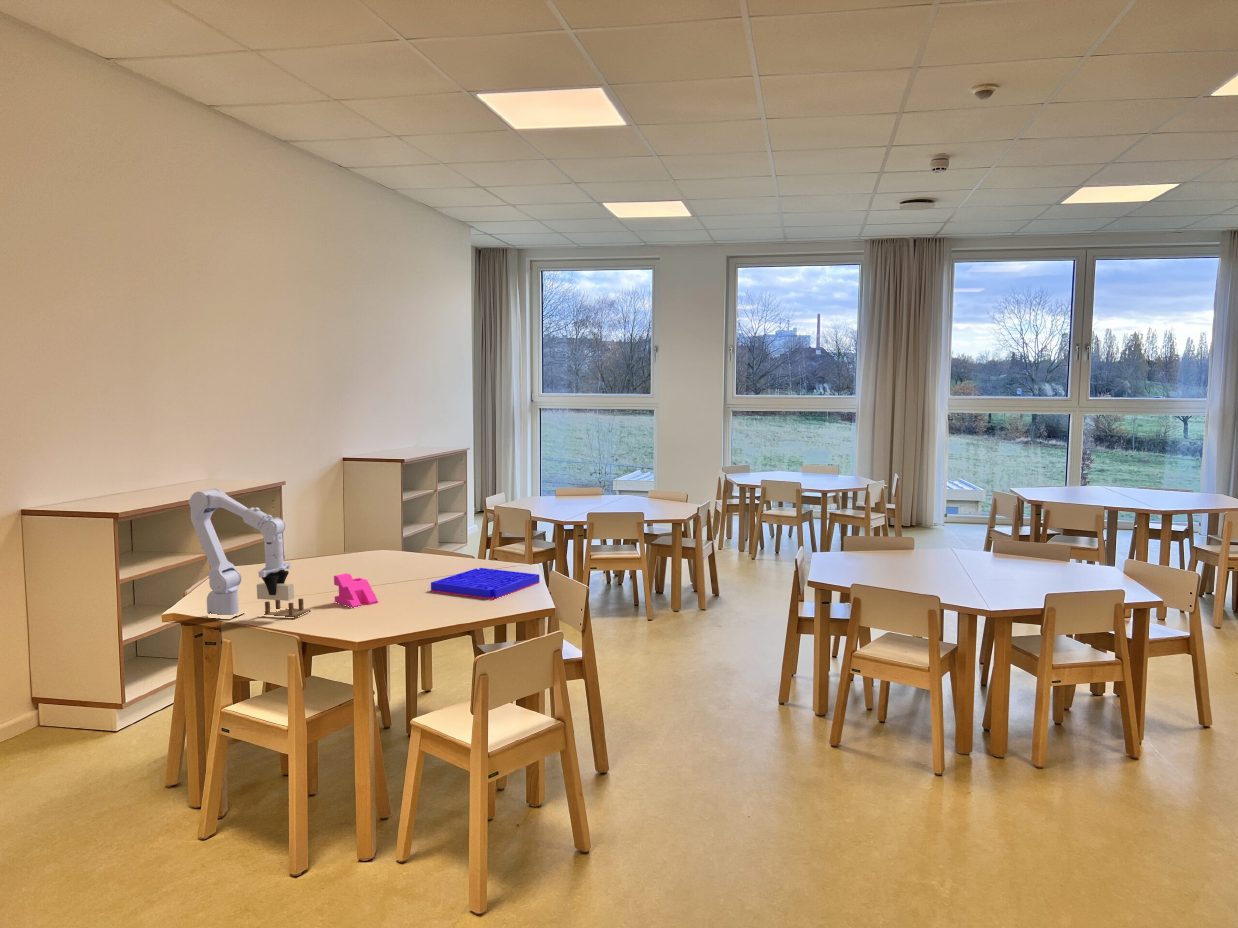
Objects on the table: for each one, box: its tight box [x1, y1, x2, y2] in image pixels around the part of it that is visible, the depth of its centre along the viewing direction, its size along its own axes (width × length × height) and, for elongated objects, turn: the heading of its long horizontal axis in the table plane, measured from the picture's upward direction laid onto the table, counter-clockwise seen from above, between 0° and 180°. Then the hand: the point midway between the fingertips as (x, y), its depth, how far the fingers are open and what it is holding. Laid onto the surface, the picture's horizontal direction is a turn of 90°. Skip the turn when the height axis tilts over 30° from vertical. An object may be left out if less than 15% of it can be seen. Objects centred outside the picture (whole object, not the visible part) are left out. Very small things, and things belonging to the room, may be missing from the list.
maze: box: [430, 567, 540, 600], centre depth 324 cm, size 30×30×4 cm
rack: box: [264, 598, 311, 619], centre depth 286 cm, size 14×9×5 cm, turn 78°
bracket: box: [333, 573, 379, 609], centre depth 300 cm, size 12×10×10 cm
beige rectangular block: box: [256, 582, 295, 602], centre depth 281 cm, size 12×3×5 cm, turn 77°
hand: (275, 593), depth 281 cm, fingers closed on beige rectangular block, 3 cm apart
